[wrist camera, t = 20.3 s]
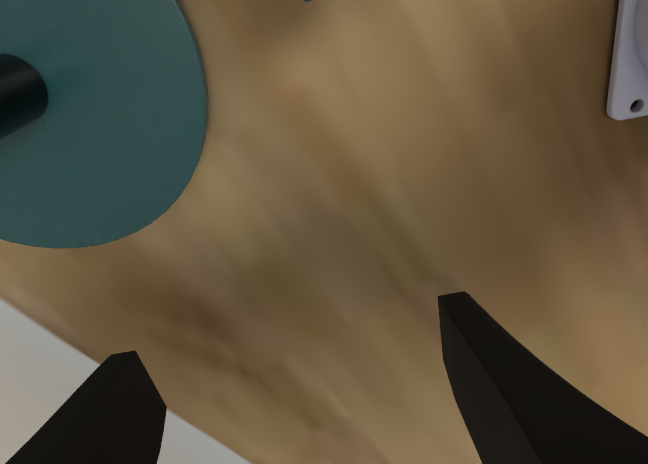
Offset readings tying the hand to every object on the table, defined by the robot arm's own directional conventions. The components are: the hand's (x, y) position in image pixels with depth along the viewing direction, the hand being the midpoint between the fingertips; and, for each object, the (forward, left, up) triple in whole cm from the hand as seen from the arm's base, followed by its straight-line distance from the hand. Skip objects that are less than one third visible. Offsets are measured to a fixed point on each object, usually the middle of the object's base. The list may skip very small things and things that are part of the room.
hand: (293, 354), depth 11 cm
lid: (+9, -6, -10) cm, 15 cm away
